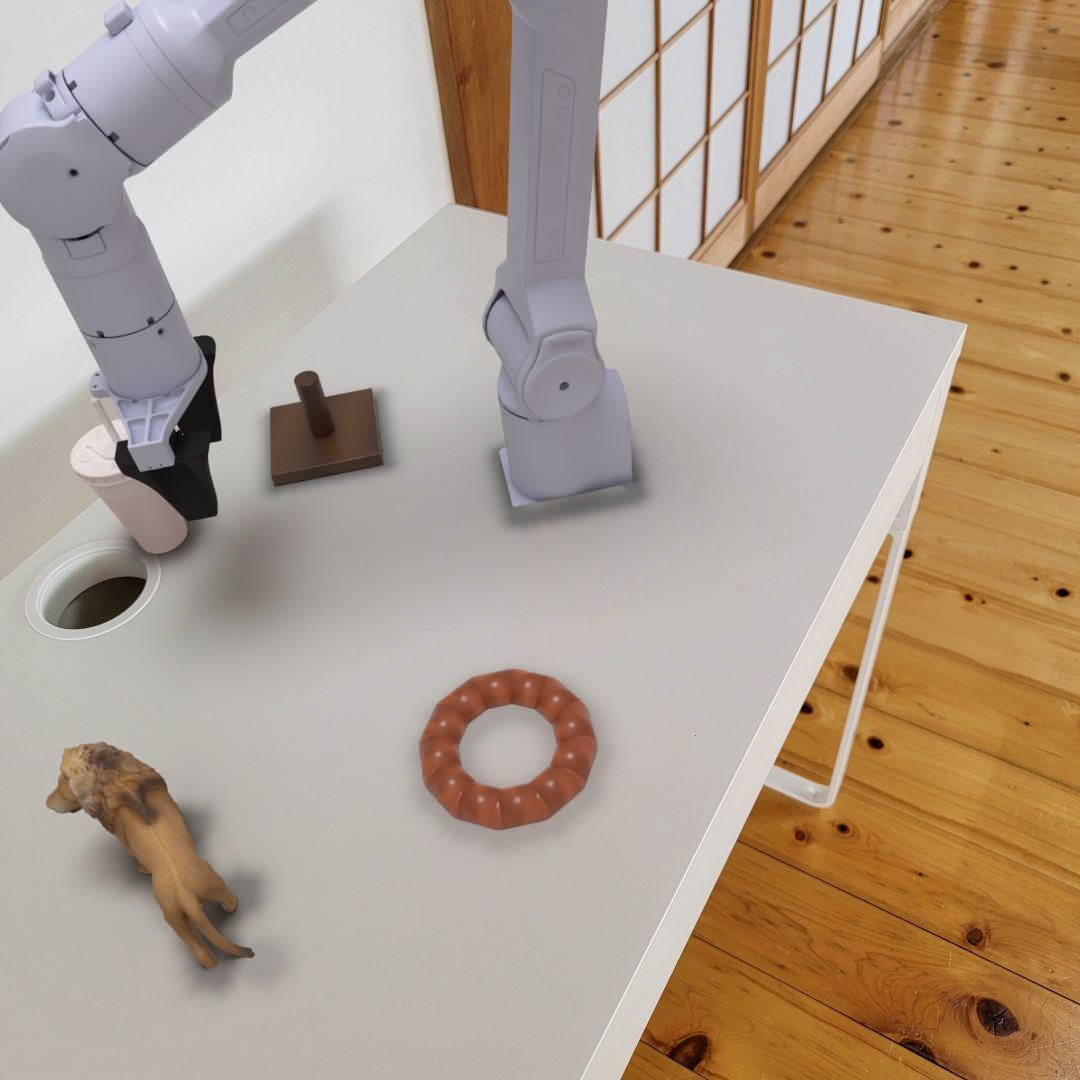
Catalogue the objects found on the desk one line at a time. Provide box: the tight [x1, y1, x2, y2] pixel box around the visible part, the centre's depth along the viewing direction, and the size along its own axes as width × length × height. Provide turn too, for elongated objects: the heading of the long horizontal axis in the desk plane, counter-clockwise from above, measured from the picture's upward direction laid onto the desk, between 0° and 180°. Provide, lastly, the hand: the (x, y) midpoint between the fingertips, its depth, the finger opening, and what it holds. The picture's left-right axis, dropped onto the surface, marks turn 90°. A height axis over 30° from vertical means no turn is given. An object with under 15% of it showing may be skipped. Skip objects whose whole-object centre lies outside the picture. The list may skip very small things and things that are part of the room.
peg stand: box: [269, 370, 384, 486], centre depth 82 cm, size 9×9×7 cm
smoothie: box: [69, 397, 189, 555], centre depth 74 cm, size 6×6×14 cm
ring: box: [418, 668, 598, 831], centre depth 62 cm, size 11×11×2 cm
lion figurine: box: [45, 741, 256, 970], centre depth 55 cm, size 15×5×9 cm, turn 50°
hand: (205, 476), depth 68 cm, fingers open, 7 cm apart
